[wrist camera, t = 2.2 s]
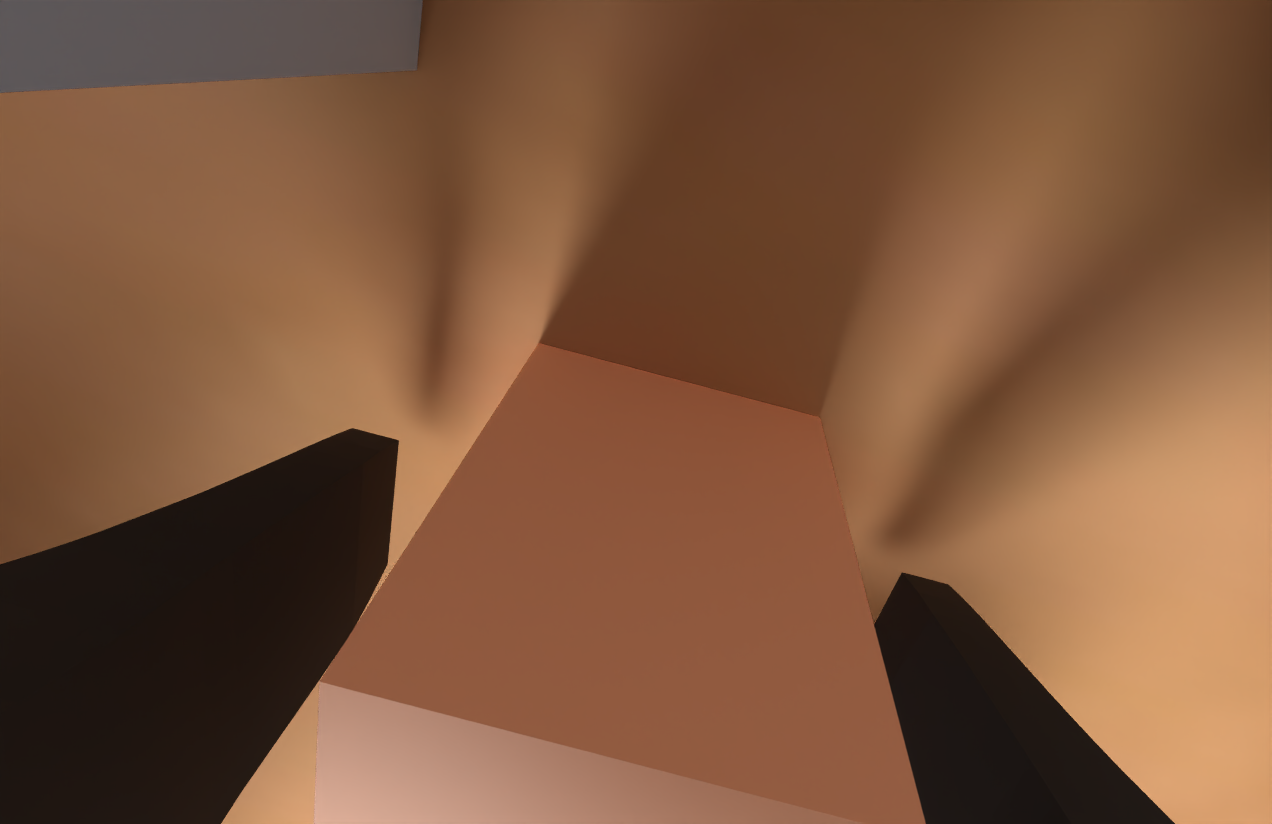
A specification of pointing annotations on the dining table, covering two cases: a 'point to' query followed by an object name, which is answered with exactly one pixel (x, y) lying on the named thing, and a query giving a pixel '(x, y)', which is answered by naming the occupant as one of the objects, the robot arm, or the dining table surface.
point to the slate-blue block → (200, 40)
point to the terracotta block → (620, 626)
